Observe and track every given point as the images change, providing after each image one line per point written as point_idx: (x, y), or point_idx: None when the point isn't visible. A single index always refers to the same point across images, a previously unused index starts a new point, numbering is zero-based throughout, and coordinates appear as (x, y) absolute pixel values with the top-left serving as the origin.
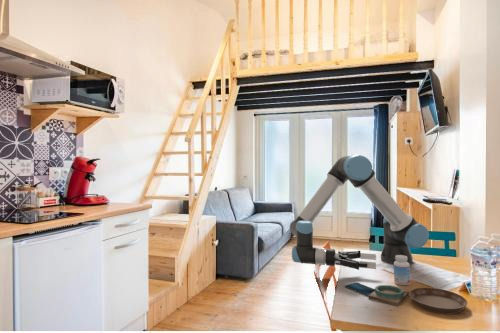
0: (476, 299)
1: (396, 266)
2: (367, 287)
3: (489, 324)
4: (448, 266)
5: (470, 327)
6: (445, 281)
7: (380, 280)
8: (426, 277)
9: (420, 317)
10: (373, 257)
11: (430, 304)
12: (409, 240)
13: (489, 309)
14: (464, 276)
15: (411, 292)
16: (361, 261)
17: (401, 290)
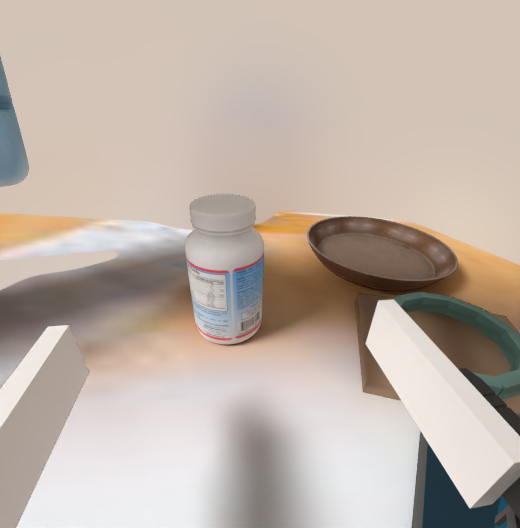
0: (283, 221)
1: (256, 263)
2: (445, 472)
3: (397, 221)
4: (15, 232)
5: (441, 235)
6: (172, 242)
7: (223, 413)
8: (137, 268)
9: (501, 283)
10: (71, 372)
11: (392, 265)
12: (20, 132)
13: (325, 216)
14: (122, 220)
15: (388, 279)
16: (507, 425)
17: (412, 296)
